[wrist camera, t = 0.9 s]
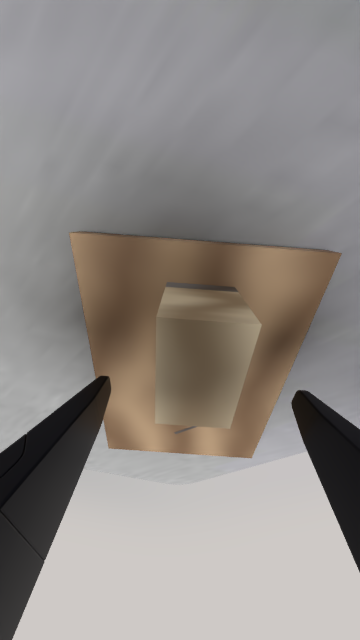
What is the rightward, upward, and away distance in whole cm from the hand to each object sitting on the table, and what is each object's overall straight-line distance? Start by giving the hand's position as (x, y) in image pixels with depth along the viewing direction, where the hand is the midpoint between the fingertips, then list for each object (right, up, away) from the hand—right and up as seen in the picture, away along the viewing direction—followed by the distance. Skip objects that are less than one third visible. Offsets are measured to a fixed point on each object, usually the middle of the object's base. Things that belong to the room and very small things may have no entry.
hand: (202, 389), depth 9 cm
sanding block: (0, +3, +5) cm, 5 cm away
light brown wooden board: (0, -1, +8) cm, 8 cm away
